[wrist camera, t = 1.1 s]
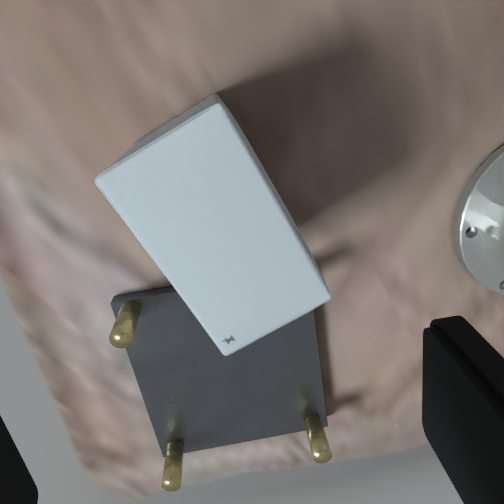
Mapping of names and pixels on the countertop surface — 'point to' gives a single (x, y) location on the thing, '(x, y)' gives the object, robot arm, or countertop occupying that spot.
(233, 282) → the skincare box
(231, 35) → the countertop surface
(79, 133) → the countertop surface
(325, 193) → the countertop surface
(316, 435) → the chassis
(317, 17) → the countertop surface
